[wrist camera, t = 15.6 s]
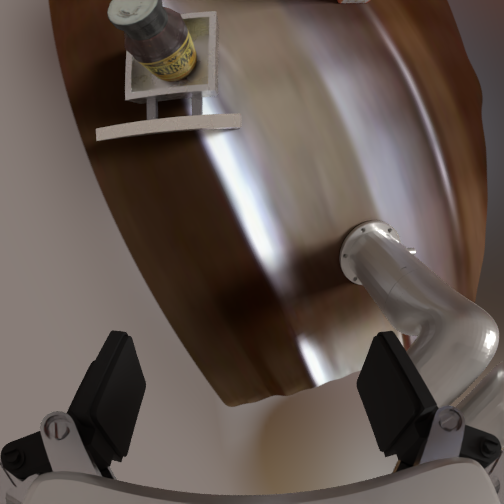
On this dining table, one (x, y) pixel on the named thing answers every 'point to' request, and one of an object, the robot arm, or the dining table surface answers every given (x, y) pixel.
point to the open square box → (177, 87)
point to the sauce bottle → (155, 37)
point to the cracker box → (353, 1)
